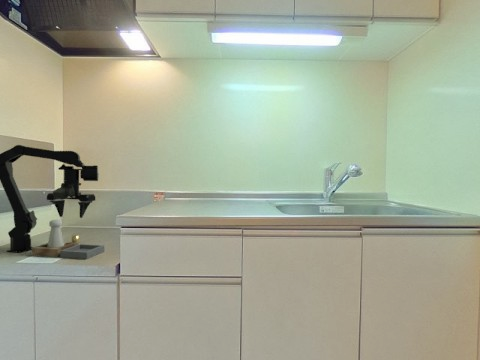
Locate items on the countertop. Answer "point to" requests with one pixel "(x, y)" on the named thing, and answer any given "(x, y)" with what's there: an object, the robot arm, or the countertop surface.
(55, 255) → the socket block
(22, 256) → the countertop surface
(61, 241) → the salt shaker
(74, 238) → the key
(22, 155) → the robot arm
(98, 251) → the tray
